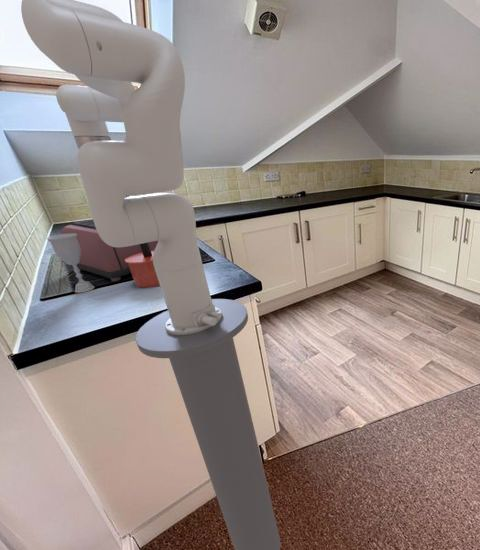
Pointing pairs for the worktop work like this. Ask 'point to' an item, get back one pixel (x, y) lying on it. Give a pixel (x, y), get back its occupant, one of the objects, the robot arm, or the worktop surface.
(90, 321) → the worktop surface
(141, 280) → the pot
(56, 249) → the chalice
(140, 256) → the lid
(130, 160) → the robot arm
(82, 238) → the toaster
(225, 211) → the worktop surface
